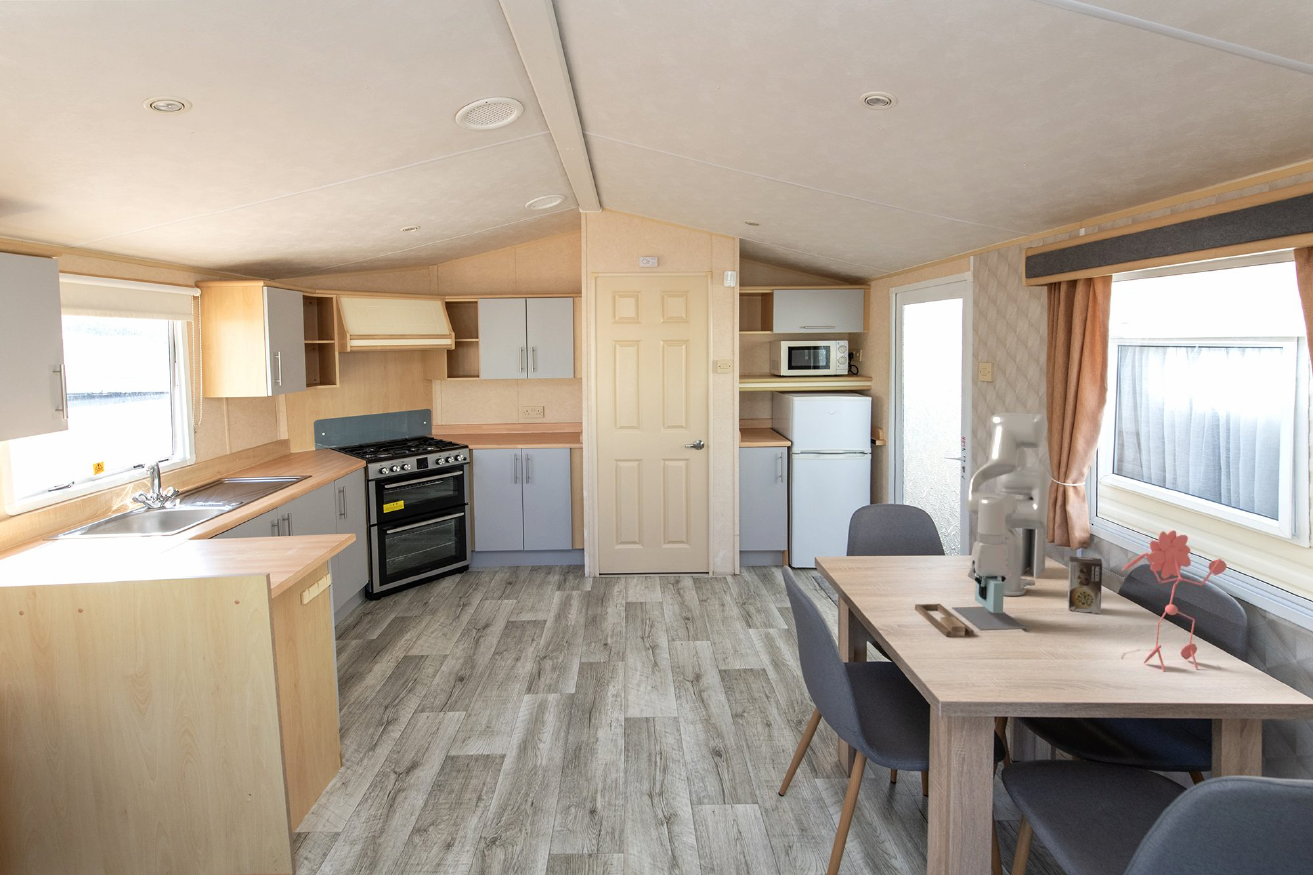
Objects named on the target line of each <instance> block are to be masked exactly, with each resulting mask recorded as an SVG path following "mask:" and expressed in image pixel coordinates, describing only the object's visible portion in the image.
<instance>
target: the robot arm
mask: <svg viewBox="0 0 1313 875" xmlns="http://www.w3.org/2000/svg"><path fill="white" fill-rule="evenodd" d="M989 425H990V430H991V439H990V445H989V447H990V448H989V453H988V459H987V462H986V463H984V465H982V466H981V467H980V468H979V469H978V470H977V471H976V472H974V474H973V475H972V477H971V479H970V481H969V484H968V489H967V493H966V494H967V495H966V500H965V501H966V503H965V505H966V506H965V507H966V510H967V512H968V513H969V514H971V515H973V516H977V541H974V542H973V546H972V551H971V557H970V566H969V567H970V570H969V572H968V574H967V577H968V579H972V580H973V581H975V583H976V582H977V583H978V584H979V596H980V597H981V598H982V599H984V600H986V592H987V587H986V586H985V582H986V577H990V576H994V577H995V578H997V579H998V580H1000V581H1002V582H1003V583H1004V596H1007V597H1019V596H1023V595H1025V594H1026V588H1025V587H1027V586H1031V587H1034V586H1036V580H1034V579H1027V578H1022V575H1021V563H1022V539H1021V534H1019V532H1018V531H1017V530H1016V529H1021V528H1025V529H1037V530H1039V529H1043V528H1044V527H1045V525H1046V522H1047V523H1048V513H1049V511H1048V510H1049V494H1050V493H1049V492H1050V478H1049V473H1048V472H1047V470H1045V469H1044V468H1042V467H1035V466H1034V467H1033V466H1027V465H1026V460H1027V459H1026V457H1027V451H1026V449H1038V448H1040V447H1041V446H1042V444H1043V442H1044V440H1045V438H1046V435H1047V433H1048V427H1049V424H1048V420H1047V417H1046V416H1045V415H1043V414H1041V413H1021V412H1019V413H1018V412H999V413H995V414H994V415H992V416H991V417H990V421H989ZM995 478H996V488H997V490H998V491H999V492H995V491H993V492H992V491H982V490H981V491H980V488H981V486H983V484H985V483H986V482H988V481H990V480H992V479H993V480H994V479H995ZM1014 495H1016V496H1017V495H1018V496H1023V495H1026V496H1031V497H1033V500H1023V499H1021V498H1016V497H1015V496H1014ZM976 575H977V576H978V577H976Z"/></svg>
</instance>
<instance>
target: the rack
mask: <svg viewBox="0 0 1313 875" xmlns="http://www.w3.org/2000/svg"><path fill="white" fill-rule="evenodd" d="M914 605H915V606H914V610H915V612H917V613H918V614H919V615H921V616H922V617H923V618H924V619H925V620H926V621H927V622H929V624H931V626H933V627H934V628H935V629H937V630H938V632H940V633H941V634H942V635H943V636H945V637H946V638H952V637H951V631H950V630H949V629H948V628H946V627H945V626H944V625H943V624H942V623H940V621H939V620H938V619H937V618H936V617H934V616H933V614H931V613H930V611H937V612H938V613H940V614H941V615H942V616H943V617H955V618H956V619H957V620H958V621H960V622H961V623H962V624H963V625H964V626H965V635H966V636H968V637H974V631H975V630H974V629H972V628H971V627H970V626H968V624H966V623H965V622H964V621H963V620H961V619H959V618H958V617H957V616H956V615H954V614H953V613H952V612H951V611H949V610H948V609H947V608H946V607H945V606H943V605H942V604H940V603H923V604H922V603H920V604H919V603H918V604H914ZM928 611H929V612H928Z"/></svg>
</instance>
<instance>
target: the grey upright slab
mask: <svg viewBox="0 0 1313 875" xmlns="http://www.w3.org/2000/svg"><path fill="white" fill-rule="evenodd" d="M1021 496H1022V499H1023V500H1033V497H1031V496H1026V495H1021ZM1047 531H1048V521H1047V522H1046V525H1045V527H1044V528H1043V529H1039V530H1037V529H1025V528H1020V537H1021V539H1022V563H1021V576H1022V575H1023V574H1024V573H1025V572H1026V571H1028V569H1029V570H1030V572H1031V574H1032V575H1033V577H1034V579H1037V578H1038V577H1039V576H1040V575H1041V574H1042V573H1043V572H1044V571H1045V570H1046V555H1047V533H1048V532H1047Z"/></svg>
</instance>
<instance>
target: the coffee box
mask: <svg viewBox="0 0 1313 875" xmlns="http://www.w3.org/2000/svg"><path fill="white" fill-rule="evenodd" d="M1068 563H1069V565H1068V566H1069V568H1068V570H1069V571H1068V593H1067V610H1072V611H1071V612H1075V611H1079V612H1078V613H1085V612H1092V613H1091V614H1095V613H1098V614H1097V615H1101V613H1102V588H1103V587H1102V586H1103V584H1102V583H1103V561H1102V558H1095V557H1083V556H1069V562H1068Z"/></svg>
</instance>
